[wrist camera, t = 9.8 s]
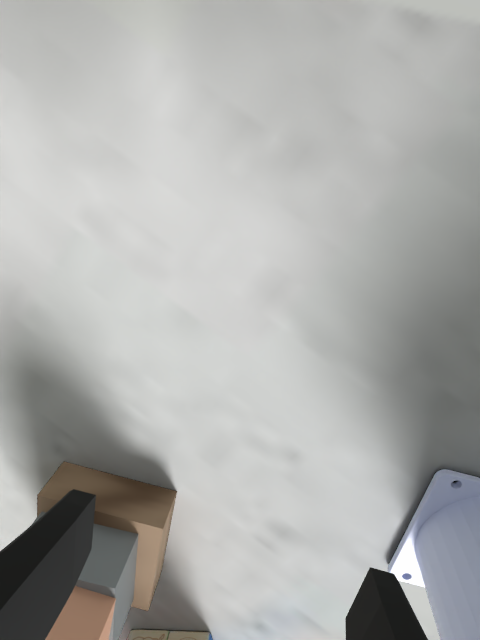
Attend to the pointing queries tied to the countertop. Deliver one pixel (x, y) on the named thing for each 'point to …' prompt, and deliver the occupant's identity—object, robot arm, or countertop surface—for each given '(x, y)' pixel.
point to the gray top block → (111, 570)
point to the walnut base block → (122, 516)
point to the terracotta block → (84, 617)
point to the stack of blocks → (167, 635)
